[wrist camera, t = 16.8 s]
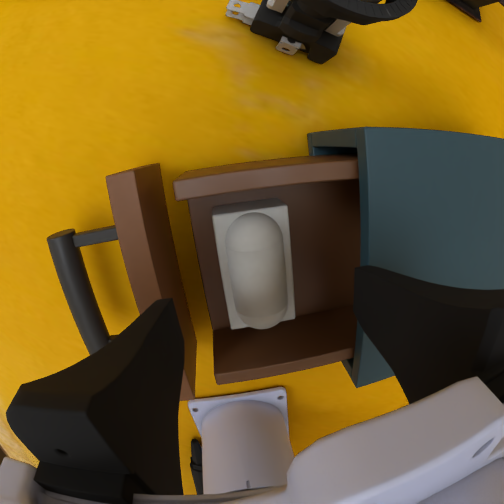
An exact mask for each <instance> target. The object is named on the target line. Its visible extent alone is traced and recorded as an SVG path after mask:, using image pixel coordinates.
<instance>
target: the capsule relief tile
mask: <svg viewBox="0 0 504 504" xmlns="http://www.w3.org/2000/svg"><path fill="white" fill-rule="evenodd" d="M212 221H213V228H214V234H215V240H216V246H217V252H218V258H219V264H220V270H221V276H222V282H223V288H224V293H225V299H226V304H227V310H228V315H229V321H230V326H231V329H239V328H245V327H252V328H255V329H268V328H271V327H273V326H275V325H277V324H278V323H279V322H280V321H285V320H291V319H295V300H294V284H293V269H292V255H291V241H290V229H289V217H288V207H287V205H286V204H285V203H283V202H282V201H281V200H279V199H278V198H270V199H262V200H255V201H248V202H240V203H233V204H227V205H220V206H214V207H212Z"/></svg>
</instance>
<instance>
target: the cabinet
mask: <svg viewBox="0 0 504 504" xmlns="http://www.w3.org/2000/svg"><path fill="white" fill-rule="evenodd" d="M307 137H308V147H309V156H317V155H332V154H350V153H358V167H359V186H360V223H361V246H360V267H361V266H366V265H371V266H376V267H380V268H383V269H387V270H390V271H393V272H396V273H400V274H403V275H406V276H409V277H413V278H416V279H419V280H423V281H427V282H431V283H435V284H440V285H445V286H451V287H458V288H467V289H483V290H493V289H504V139H502V138H496V137H490V136H483V135H476V134H468V133H460V132H451V131H441V130H429V129H414V128H393V127H358V128H347V129H338V130H329V131H321V132H313V133H308V134H307ZM341 362H342V363H343V365H344V367H345V369H346V370H347V372H348V374H349V376H350V377H351V379H352V381H353V383H354V385H355V387H356V388H358V387H362V386H365V385H368V384H371V383H374V382H377V381H380V380H383V379H386V378H389V377H392V376H395V374H394V372H393V371H392V369H391V368H390V366H389V365H388V363H387V362H386V360H385V359H384V358H383V356H382V355H381V354H380V352H379V351H378V350H377V348H376V347H375V346H374V344H373V343H372V342H371V340H370V339H369V338H368V336H367V335H366V334H365V332H364V331H363V329H362V328H361V326H360V324H359V322H358V320H357V331H356V342H355V352H354V358H350V359H346V360H342V361H341Z"/></svg>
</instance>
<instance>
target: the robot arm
mask: <svg viewBox="0 0 504 504" xmlns="http://www.w3.org/2000/svg"><path fill="white" fill-rule="evenodd" d="M353 312H354V314H355V316H356V318H357V320H358V322H359V324H360V326H361V328H362V329H363V331H364V332H365V334H366V335H367V336H368V338H369V339H370V340H371V342H372V343H373V344H374V346H375V347H376V348H377V350H378V351H379V352H380V354H381V355H382V356H383V358H384V359H385V360H386V362H387V363H388V365H389V366H390V368H391V369H392V371H393V372H394V374H395V376H396V378H397V380H398V381H399V383H400V385H401V387H402V389H403V391H404V393H405V395H406V397H407V399H408V402H409V405H407V406H404V407H402V408H399V409H397V410H394V411H392V412H389V413H386V414H384V415H381V416H378V417H375V418H372V419H370V420H367V421H364V422H361V423H358V424H355V425H351V426H348V427H346V428H344V429H341V430H339V431H337V432H334V433H332V434H329V435H327V436H325V437H322V438H320V439H318V440H317V441H315V442H314V443H313V444H311V445H310V446H308V447H307V448H306V449H304V450H303V451H301V452H300V453H298V454H297V455H296V457H294V454H293V450H292V447H291V443H290V439H289V427H288V411H287V395H286V390H285V388H284V387H276V388H271V389H265V390H259V391H254V392H247V393H241V394H234V395H227V396H219V397H211V398H202V399H194V400H190V401H189V402H188V407H189V410H190V412H191V415H192V417H193V419H194V422H195V424H196V426H197V429H198V431H199V433H200V435H201V438H202V468H203V493H204V495H184V494H183V487H182V479H181V469H180V457H179V439H178V410H179V401H180V393H181V385H182V378H183V370H184V362H185V349H184V338H183V335H182V331H181V328H180V324H179V320H178V317H177V313H176V309H175V306H174V302H173V298H166V299H159V300H156V301H155V302H154V303H152V304H151V305H150V306H149V307H148V308H147V309H146V310H145V311H144V312H143V313H142V314H141V315H140V316H139V317H138V318H137V319H136V320H135V321H134V322H133V323H132V324H131V325H129V326H128V327H127V328H126V329H125V330H124V331H122V332H121V333H120V334H119V335H118V336H117V337H116V338H114V339H113V340H112V341H111V342H109V343H108V344H107V345H105V346H104V347H102V348H101V349H99V350H98V351H97V352H95V353H93V354H92V355H90V356H88V357H87V358H85V359H83V360H81V361H80V362H78V363H76V364H74V365H72V366H70V367H68V368H66V369H64V370H62V371H59V372H57V373H55V374H52V375H50V376H47V377H44V378H41V379H38V380H35V381H32V382H29V383H25V384H22V385H21V386H20V388H19V389H18V391H17V393H16V395H15V397H14V398H13V400H12V402H11V404H10V406H9V407H8V409H7V412H6V416H7V421H8V423H9V425H10V427H11V429H12V430H13V432H14V433H15V434H16V436H17V437H18V438H19V439H20V440H21V442H22V443H23V444H24V445H25V446H26V447H27V448H28V449H29V450H30V451H31V452H32V453H33V455H34V456H35V457H36V458H37V459H38V460H39V461H40V462H39V465H38V468H35V467H34V466H32V465H30V464H28V463H25V462H22V461H18V460H15V459H12V458H9V457H4V459H3V462H2V464H1V466H0V504H504V289H493V290H483V289H467V288H458V287H451V286H445V285H440V284H435V283H431V282H427V281H423V280H419V279H416V278H413V277H409V276H406V275H403V274H400V273H396V272H393V271H390V270H387V269H383V268H380V267H376V266H371V265H366V266H361V267H356V268H355V272H354V300H353ZM195 408H197V409H195Z"/></svg>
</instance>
